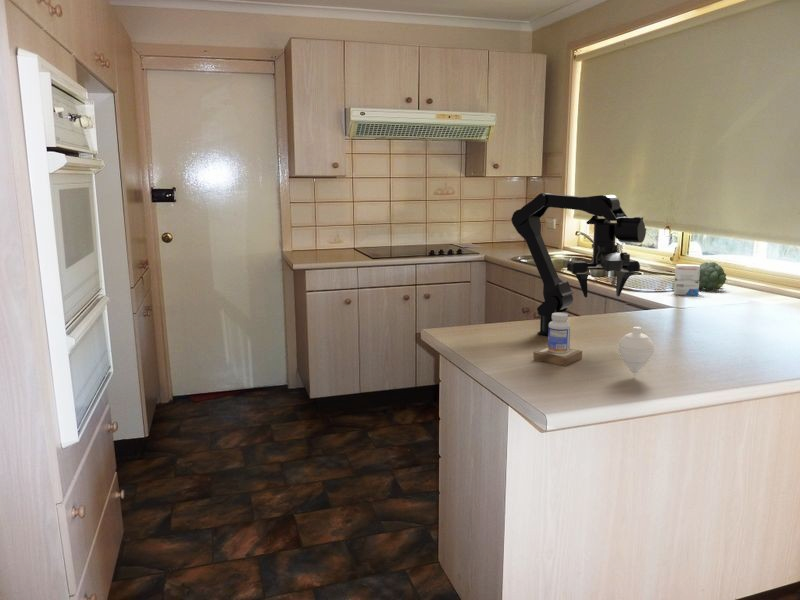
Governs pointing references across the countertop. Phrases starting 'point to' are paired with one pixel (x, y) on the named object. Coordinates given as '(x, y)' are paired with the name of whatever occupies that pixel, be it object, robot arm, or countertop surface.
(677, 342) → the countertop surface
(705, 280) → the vegetable
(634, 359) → the spinning top
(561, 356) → the walnut picture frame
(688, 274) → the ink box
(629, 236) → the robot arm
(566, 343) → the pill bottle
